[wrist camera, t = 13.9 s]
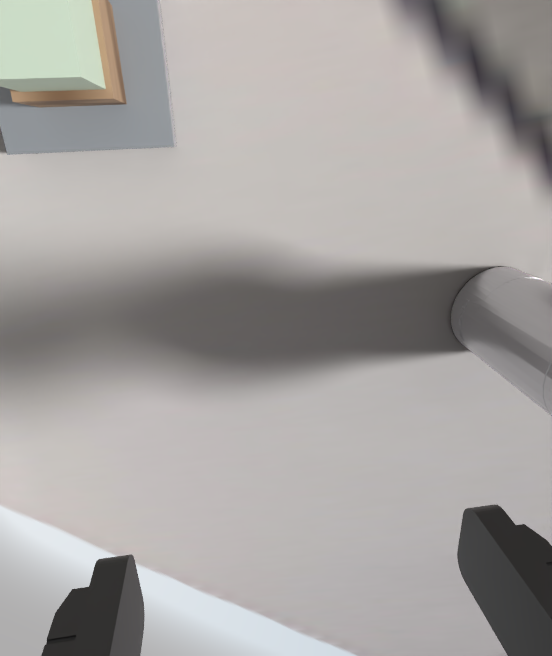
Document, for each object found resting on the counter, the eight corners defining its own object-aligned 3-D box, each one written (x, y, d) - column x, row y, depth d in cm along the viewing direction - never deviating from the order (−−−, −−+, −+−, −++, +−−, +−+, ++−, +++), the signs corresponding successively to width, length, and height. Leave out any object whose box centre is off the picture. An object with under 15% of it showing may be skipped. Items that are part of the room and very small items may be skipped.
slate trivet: (155, -34, 33) (150, -50, 30) (176, 146, 38) (174, 146, 35) (-22, -33, 32) (-44, -50, 29) (22, 153, 36) (7, 154, 33)
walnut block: (111, 5, 31) (95, -18, 26) (126, 104, 33) (113, 98, 29) (18, 7, 30) (-16, -17, 26) (40, 107, 33) (12, 102, 28)
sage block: (90, -8, 27) (59, -47, 21) (105, 89, 28) (81, 76, 23) (-2, -7, 26) (-58, -47, 21) (21, 91, 28) (-25, 79, 22)
